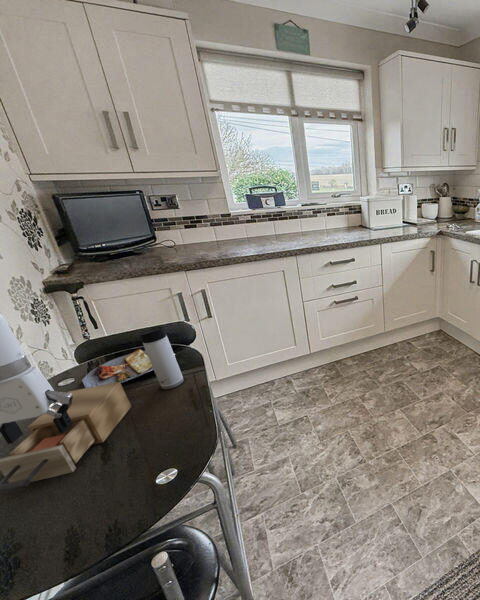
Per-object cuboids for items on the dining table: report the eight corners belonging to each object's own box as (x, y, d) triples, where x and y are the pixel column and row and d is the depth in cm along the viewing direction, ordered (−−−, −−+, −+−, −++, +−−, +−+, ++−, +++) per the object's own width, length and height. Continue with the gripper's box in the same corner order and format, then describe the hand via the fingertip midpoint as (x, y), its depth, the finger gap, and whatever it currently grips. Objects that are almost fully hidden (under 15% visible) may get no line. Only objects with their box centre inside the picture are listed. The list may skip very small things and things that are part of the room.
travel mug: (164, 392, 102) (140, 335, 94) (159, 385, 106) (136, 330, 99) (186, 382, 106) (165, 327, 99) (180, 375, 110) (160, 322, 103)
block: (74, 447, 79) (65, 433, 78) (61, 462, 75) (52, 447, 74) (52, 452, 78) (44, 438, 77) (38, 467, 74) (29, 452, 73)
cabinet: (103, 442, 83) (88, 414, 80) (44, 455, 80) (26, 427, 77) (131, 406, 96) (119, 381, 93) (81, 416, 94) (68, 391, 91)
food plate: (80, 376, 116) (76, 367, 114) (156, 348, 132) (153, 340, 130) (92, 402, 100) (87, 393, 99) (177, 367, 116) (173, 358, 115)
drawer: (51, 498, 67) (35, 473, 65) (-16, 515, 65) (-36, 490, 63) (106, 430, 86) (95, 409, 83) (55, 441, 83) (42, 420, 81)
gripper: (-69, 389, 63) (-21, 456, 69) (39, 370, 66) (75, 436, 73) (-32, 368, 70) (9, 431, 76) (64, 353, 73) (95, 414, 79)
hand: (41, 433), depth 74 cm, fingers open, 9 cm apart
